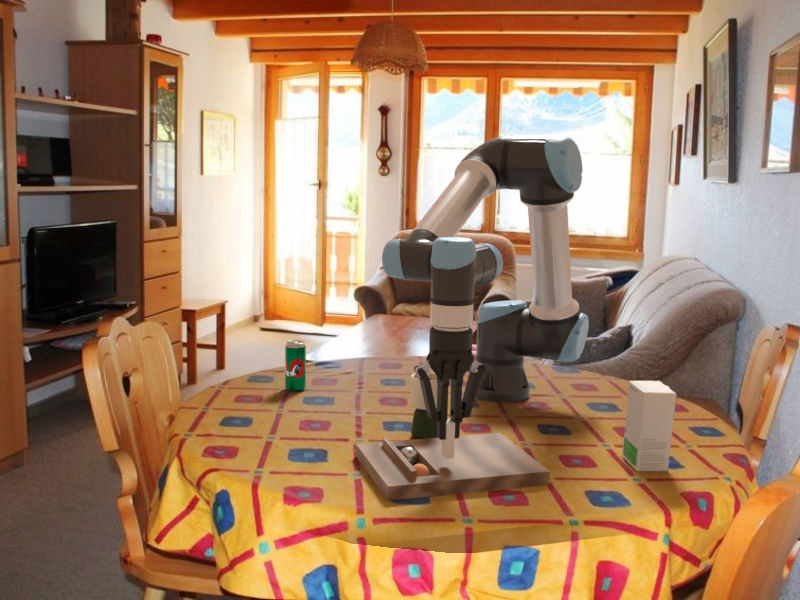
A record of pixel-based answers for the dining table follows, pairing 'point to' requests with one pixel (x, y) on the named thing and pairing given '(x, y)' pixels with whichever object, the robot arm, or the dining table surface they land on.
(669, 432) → the skincare box
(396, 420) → the dining table surface
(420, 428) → the character mug
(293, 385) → the soda can
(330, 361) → the dining table surface
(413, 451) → the steel ball
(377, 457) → the walnut board
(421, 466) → the rust ball
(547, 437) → the dining table surface
